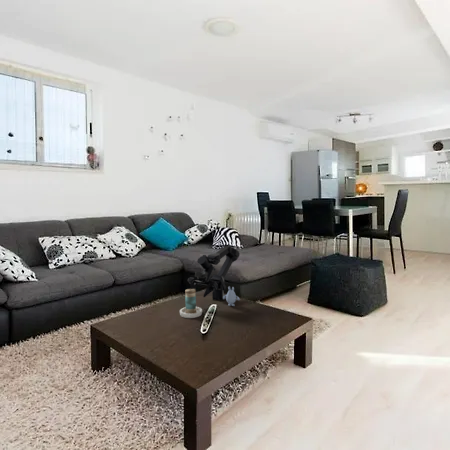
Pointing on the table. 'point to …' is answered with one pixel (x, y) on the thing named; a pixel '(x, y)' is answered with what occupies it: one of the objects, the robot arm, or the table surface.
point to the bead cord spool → (190, 301)
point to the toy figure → (231, 297)
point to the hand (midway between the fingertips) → (197, 295)
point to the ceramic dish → (194, 315)
